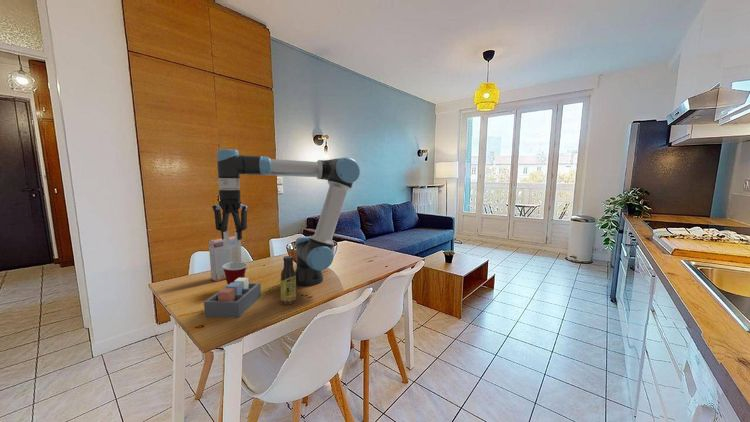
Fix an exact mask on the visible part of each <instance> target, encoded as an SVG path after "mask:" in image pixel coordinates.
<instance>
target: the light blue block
mask: <svg viewBox="0 0 750 422" xmlns="http://www.w3.org/2000/svg"><path fill="white" fill-rule="evenodd" d="M227 285H228V284H227ZM227 285H226V286H225V287H226V288H234V293H235V294H242V283H231V284H229V285H228V286H227Z"/></svg>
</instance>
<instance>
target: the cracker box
mask: <svg viewBox="0 0 750 422" xmlns="http://www.w3.org/2000/svg"><path fill="white" fill-rule="evenodd" d="M241 240H242V239H241ZM241 240H240V247H239V248H235V235H234V236H233V235H232V236H229V245H230V247H228V248H224V240H222V237H221V238H216V239H211V240H208V247H209V248H208V250H209V262H210V263H209V265H210V277H211V280H212V281H215V282H217V283H218V282H220V281H221V282H222V281H224V280H226V276H225V272H224V269H223V268H222V266H223V265H224V264H226V263H230V262H243V258H242V241H241Z"/></svg>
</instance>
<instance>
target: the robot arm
mask: <svg viewBox="0 0 750 422" xmlns="http://www.w3.org/2000/svg"><path fill="white" fill-rule="evenodd" d="M216 153H217V154H216V155H217V159H216V162H217V163H216V164H217V165H216V166H217V176H218V177H217V179H218V180H217V183H218V188H219V191H218V199H219V201H218V204H216V205H215V204H214V205H212V207H211V208H212V210H213V212H214V221H215V222H214V223H215V230H216V231H220V234H221V238H222V240H224V248H228V247H230V245H229V237H230V231H229V229H227V228H228V225H229V224H228V223H229V216H230V214H231V215H232V217H233V223H234V226H235V231H234V236H235V248H239V247H240V240H243V231H246V230H247V228H248V224H247V221H248V218H247V217H248V216H247V215H248V214H247V213H248V209H249V205H245V204H243V203H242V201H241V190H240V188H241V182H240V181H241V180H240V175H249V176H250V175H251V176H254V175H256V176H277V177H278V176H281V177H282V176H283V177H304V178H305V177H306V178H316V179H317V180H325V181H327V183H328V185H329V187H328V190H327V193H326V197H325V200H324V202H323V206H322V209H321V212H320V215H319V219H318V222H317V225H316V228H315V231H314V234H313V235H309V236H300V237H299V236H298V237H297V238H296V240H295V249H296V250H295V252H296V253H295V256H296V257H295V258H296V260H295V261H296V266H295V269H294V271H295V274H296V286H297V285H298V286H305V287H306V286H315V285H319V284H320V283H322V282H323V281H324V273H323V271H324V270H326V269H328V268H329V267H330V266H331V265H332V264H333V262H334V258H335V257H334V252H333V247H334V245H335V243H334V241H333V237H334V235H335V234H334V233H335V231H336V227H337V224H338V221H339V218H340V215H341V211H342V208H343V205H344V202H345V199H346V196H347V193H348V191H350V190H352V187H353V184H354V183H355V182H356V181H357V180H358V179H359V177H360V173H361V169H360V166H359V164H358V162H357V161H356V160H355V159H353V158H351V157H346V156H344V157H339V158H332V159H331V158H330V159H326V160H325V159H317V161H308V160H307V161H306V160H305V161H304V160H294V159H293V160H292V159H291V160H290V159H277V158H270V157H269V156H262V155H242V154H240V152H239V150H237V149H231V148H221V149H219V150H217V152H216ZM239 210H241V211H239ZM221 212H222V213H221Z"/></svg>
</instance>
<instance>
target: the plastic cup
mask: <svg viewBox="0 0 750 422" xmlns="http://www.w3.org/2000/svg"><path fill="white" fill-rule="evenodd" d="M248 267H249V266H248V263H246V262H243V261H242V262H230V263H226V264H224V265H223V266H222V268H223V269H224V272H225V276H226V279H225V280H226V283H227V285H228V284H230V283H231V282H233V283H234V281H235V280H236V279H238V278H245V275H246V270H247V268H248Z"/></svg>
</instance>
